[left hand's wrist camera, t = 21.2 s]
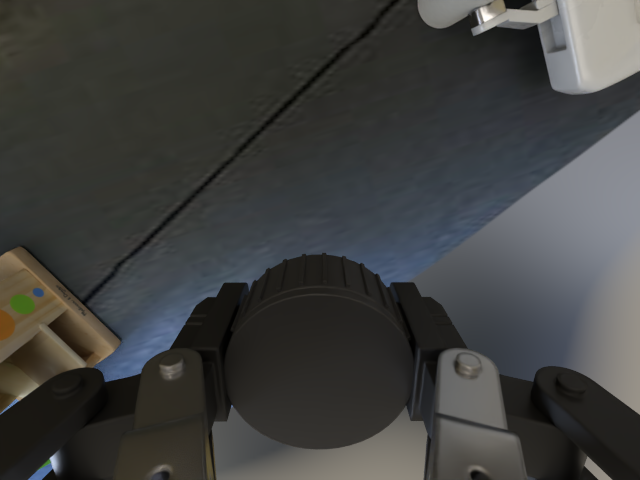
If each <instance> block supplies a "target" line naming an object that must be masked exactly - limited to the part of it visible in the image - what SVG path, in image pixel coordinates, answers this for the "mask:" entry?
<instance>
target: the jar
mask: <svg viewBox="0 0 640 480" xmlns="http://www.w3.org/2000/svg"><path fill="white" fill-rule="evenodd" d="M492 1H494V0H418V10H419V14H420V16H421V18H422V19H423V21H424V22H425V23H426V24H428V25H429V26H431V27H434V28H446V27H449V26H451V25H453V24H454V23H456V22H458V21H460V20H461V19H463V18H465V17H466V16H468V15H467V14H469V13H471V12H472V11H474V10H476V9H478V8H479V7H481V6H483V5H487V4H489V3H490V2H492Z"/></svg>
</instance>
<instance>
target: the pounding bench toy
mask: <svg viewBox="0 0 640 480" xmlns="http://www.w3.org/2000/svg"><path fill="white" fill-rule="evenodd" d="M120 344H121V341H120V340H119V339H118V338H117V337H116V336H115V335H114V334H113V333H112V332H111V331H110V330H109V329H108V328H107V327H106V326H105V325H103V324H102V323H101V322H100V321H99V320H98V319H97V318H96V317H95V316H94V315H93V314H92V313H91V312H90V311H89V310H88V309H87V308H86V307H85V306H84V305H83V304H82V303H81V302H80V301H79V300H78V299H77V298H76V297H75V296H74V295H72V294H71V293H70V292H69V291H68V290H67V289H66V288H65V287H64V286H63V285H62V284H61V283H60V282H59V281H58V280H57V279H56V278H55V277H54V276H53V275H52V274H51V273H50V272H49V271H48V270H46V269H45V268H44V267H43V266H42V265H41V264H40V263H39V262H38V261H37V260H36V259H35V258H34V257H33V256H32V255H31V254H30V253H29V252H28V251H26V250H25V249H24V248H22V247H17V248H15V249H13V250H10V251H8V252H6V253H5V254H3V255H2V256H1V257H0V413H1V412H2V411H3V410H4V409H5V408H6V407H8V406H9V405H10V404H11V403H12V402H13V401H14V400H15V399H18V400H19V401H20V400H21V399H23V398H24V397H25V396H27V395H28V394H29V393H31V392H32V391H33V390H35V389H36V388H37V387H39V386H40V385H42V384H43V383H44V382H46V381H47V380H49V379H50V378H52V377H54V376H56V375H58V374H60V373H63V372H65V371H68V370H72V369H76V368H83V367H90V368H93V367H94V366H95V365H96V364H97V363H99V362H100V361H102V360H103V359H105V358H106V357H108V356H109V355H110V354H112V353H113V352H114V351H115V350H116V349H117V347H118V346H119V345H120ZM49 463H51V461H50V459H49V460H48V461H47V462H46V463H44V464H43V465H42V466H41V467H40V468H39V469H41V468H42V467H44V466H46V465H48V464H49ZM39 469H38V470H39Z"/></svg>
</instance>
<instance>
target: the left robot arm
mask: <svg viewBox="0 0 640 480" xmlns="http://www.w3.org/2000/svg"><path fill="white" fill-rule="evenodd" d="M390 289H391V291H392V294H393V296H394V299H395V302H397V303H398V306H399V308H400V311H401V313H402V316H403V319H404V321H405V324H406V326H407V329H408V332H409V334H410V337H411V340H409V343H410V346H411V349H412V352H413V356H414V369H413V378H412V387H411V395H410V398H409V401H408V402H407V404H406V406H407V409H408V413H409V416H410V420H411V421H424V424H425V427H426V430H427V433H428V436H427V444H426V457H425V469H424V480H598V479H597V478H596V477H595V476H594V475H593V474H592V473H591V472H590V471H589V470H588V469H587V468H586V467H585V466H584V464H585V461H586V459H587V456H588V457H589V458H590V459H591V460H592V461H593V462H594V463H596V464H597V465H598V466H599V467H600V468H601V469H602V470H603V471H604V472H605V473H606V474H607V475H608V476H609V477H610V478H611V479H612V480H640V415H639V414H638V413H636V412H635V411H634V410H632V409H631V408H630V407H628V406H627V405H626V404H624V403H623V402H622V401H620V400H619V399H617V398H616V397H615V396H613V395H612V394H611V393H609V392H608V391H607V390H605V389H604V388H603V387H601V386H600V385H598V384H597V383H596V382H594V381H593V380H591V379H590V378H588V377H587V376H585V375H583V374H581V373H578V372H576V371H573V370H570V369H567V368H563V367H556V366H548V367H543V368H541V369H539V370H538V371H537V372H536V374H535V378H534V382H531V381H526V380H522V379H517V378H513V377H508V376H504V375H501V374H499V372H498V369H497V367H496V365H495V364H494V363H493V362H492V361H491V360H490V359H489V358H487V357H486V356H484V355H482V354H481V353H478V352H476V351H473V350H469V349H468V348H467V347H466V345H465V343H464V342H463V340H462V338H461V337H460V335H459V333H458V332H457V330H456V328H455V327H454V325H452V322H451V320H450V318H449V317H448V316H447V313H446V312H445V310H444V308H443V307H442V305H441V304H439V303H438V302H436V301H435V300H434V299H432V298H431V297H421V295H420V293H419V291H418V289H417V287H416V285H415V284H414V283H413V282H392V283H391V284H390ZM248 293H249V288H248V284H247V283H224V284H223V286H222V288H221V289H220V291H219V293H218V295H217V297H207V298H206V299H205V300H203V301H202V302H200V303H199V304H198V305H196V307H195V308H194V310H193V312H192V313H191V315H190V317H189V318H188V320H187V321H186V324H185V325H184V326H183V328H182V330H181V331H180V333H179V335H178V336H177V338H176V340H175V341H174V343H173V344H172V346H171V348H170V349H169V350H167V351H164V352H162V353H159V354H157V355H156V356H154V357H153V358H151V359H150V360H149V361H148V362H147V363H146V364H145V365H144V367H143V369H142V372H141V374H138V375H135V376H131V377H127V378H123V379H118V380H113V381H109V382H105V380H104V376H103V374H102V372H101V371H100V370H98V369H95V368H90V367H83V368H76V369H72V370H68V371H65V372H63V373H60V374H58V375H56V376H54V377H52V378H50V379H49V380H47V381H46V382H44V383H43V384H42V385H40V386H39V387H37V388H36V389H35V390H33V391H32V392H31V393H29V394H28V395H27V396H25V397H24V398H23V399H21V400H20V401H18V402H17V403H16V404H14V405H13V406H12V407H10V408H9V409H8V410H6V411H5V412H4V413H2V414H1V415H0V480H28V479H29V478H30V477H31V476H32V475H33V474H34V473H35V472H36V471H37V470H38V469H39V468H40V467H41V466H42V465H43V464H44V463H46V462H47V461H48V460H49V459H50V461H51V464H52V467H53V469H52V470H51V471H50V472H49V473H48V474H47V475H46V476H45V477H44V478H43V479H42V480H216V470H215V457H214V445H213V436H212V426H213V423H214V421H227V419H228V415H229V412H230V409H231V405H232V404H231V402H230V399H229V397H228V395H227V389H226V380H225V372H224V356H225V353H226V350H227V347H228V344H229V342H230V339H231V336H232V334H233V332H231V331H230V330H231V328H232V325H233V323H234V320H235V317H236V315H237V312H238V310H239V307H240V305H241V302H242V300H243V297H244V295H245V294H246V295H248Z"/></svg>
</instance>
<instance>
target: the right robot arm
mask: <svg viewBox="0 0 640 480" xmlns="http://www.w3.org/2000/svg"><path fill="white" fill-rule="evenodd" d="M467 15H468V18H469V22H470V26H471V31H472V34H473V36H475V35H478V34H480V33H482V32H484V31H486V30H488V29H490V28H492V27H494V26H496V25H497V27H505V28H514V29H526V28H529V27H532V26H534V25H537V26H538V30H539V34H540V39H541V43H542V48H543V52H544V56H545V61H546V65H547V69H548V74H549V78H550V83H551V86H552V88H553V89H554V90H556V91H559V92H562V93H566V94H587V93H592V92H596V91H599V90H602V89H604V88H606V87H609V86H611V85H613V84H615V83H617V82H619V81H621V80H623V79H625V78H627V77H629V76H631V75H633V74H634V73H636V72H638V71H640V0H532V2H531V3H529V4H527V5H525V6H523V7H521V8H520V10H518V9H506V7H505V4H504V0H494V1H492V2H490V3H489V4H487V5H483V6H481V7H479V8H478V9H476V10H474V11H472V12H471V13H469V14H467Z"/></svg>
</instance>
